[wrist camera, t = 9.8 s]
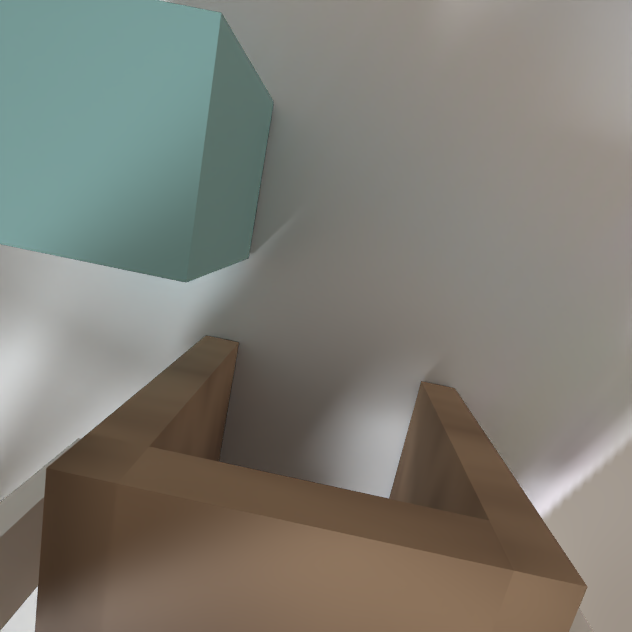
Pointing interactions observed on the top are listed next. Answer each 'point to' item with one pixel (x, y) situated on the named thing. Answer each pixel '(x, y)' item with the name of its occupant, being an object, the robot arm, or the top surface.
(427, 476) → the cover
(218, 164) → the block
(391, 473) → the top surface
